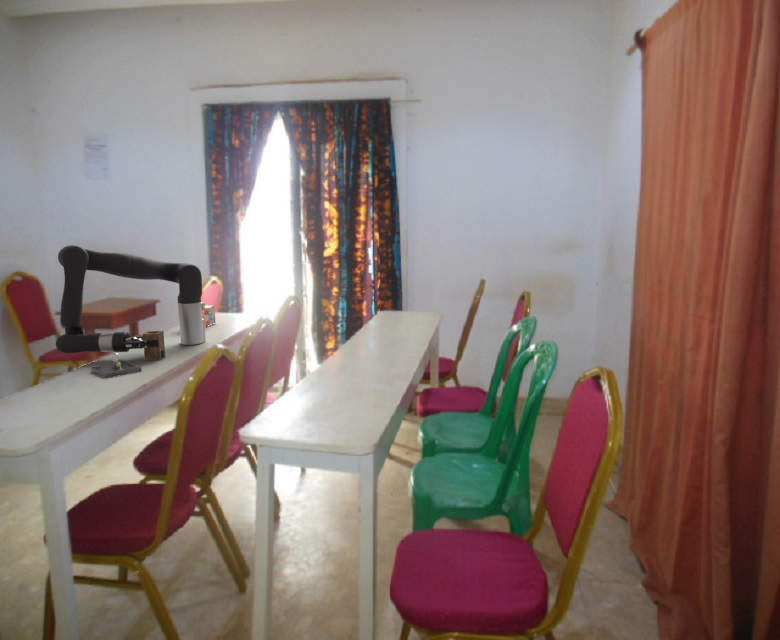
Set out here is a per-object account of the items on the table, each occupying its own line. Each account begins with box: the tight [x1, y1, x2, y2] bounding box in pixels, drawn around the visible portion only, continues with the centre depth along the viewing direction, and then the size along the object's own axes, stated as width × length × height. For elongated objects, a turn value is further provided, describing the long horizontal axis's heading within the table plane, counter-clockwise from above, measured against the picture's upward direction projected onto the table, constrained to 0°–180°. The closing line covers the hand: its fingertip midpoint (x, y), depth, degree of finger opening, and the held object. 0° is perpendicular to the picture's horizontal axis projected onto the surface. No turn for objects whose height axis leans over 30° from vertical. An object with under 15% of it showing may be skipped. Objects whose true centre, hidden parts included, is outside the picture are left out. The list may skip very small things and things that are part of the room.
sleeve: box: [142, 330, 166, 361], centre depth 220 cm, size 6×6×10 cm
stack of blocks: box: [201, 301, 216, 326], centre depth 279 cm, size 21×6×12 cm, turn 169°
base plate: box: [90, 352, 142, 379], centre depth 203 cm, size 12×12×6 cm
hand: (160, 341), depth 220 cm, fingers open, 5 cm apart
